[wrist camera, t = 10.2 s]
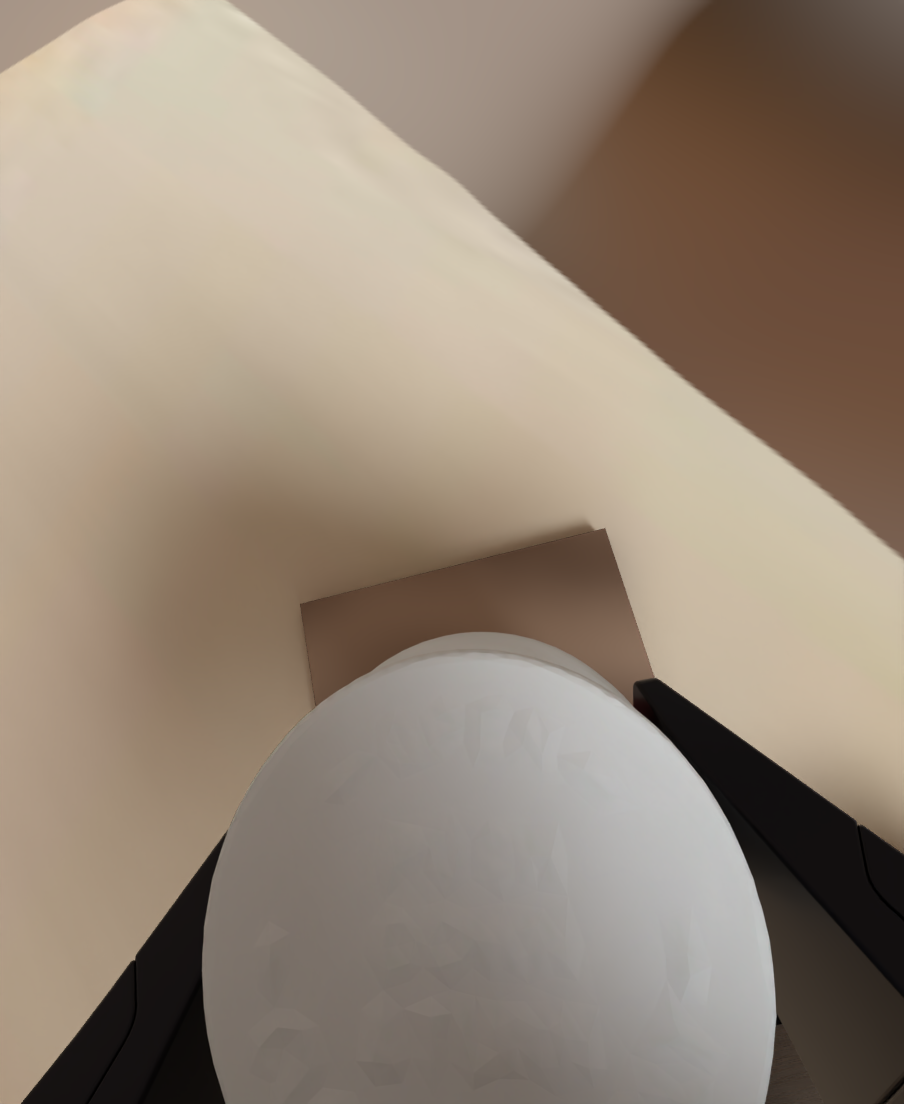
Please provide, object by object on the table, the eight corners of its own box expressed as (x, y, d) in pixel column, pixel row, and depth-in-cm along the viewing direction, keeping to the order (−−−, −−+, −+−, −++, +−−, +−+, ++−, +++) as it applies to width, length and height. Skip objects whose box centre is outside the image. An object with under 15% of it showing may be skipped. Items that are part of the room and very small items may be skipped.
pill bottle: (557, 893, 14) (780, 1697, 3) (366, 811, 15) (12, 1191, 4) (612, 688, 15) (910, 728, 4) (432, 625, 16) (301, 526, 5)
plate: (709, 869, 17) (722, 881, 16) (363, 948, 18) (355, 964, 17) (599, 534, 20) (605, 528, 19) (309, 607, 21) (300, 603, 20)
